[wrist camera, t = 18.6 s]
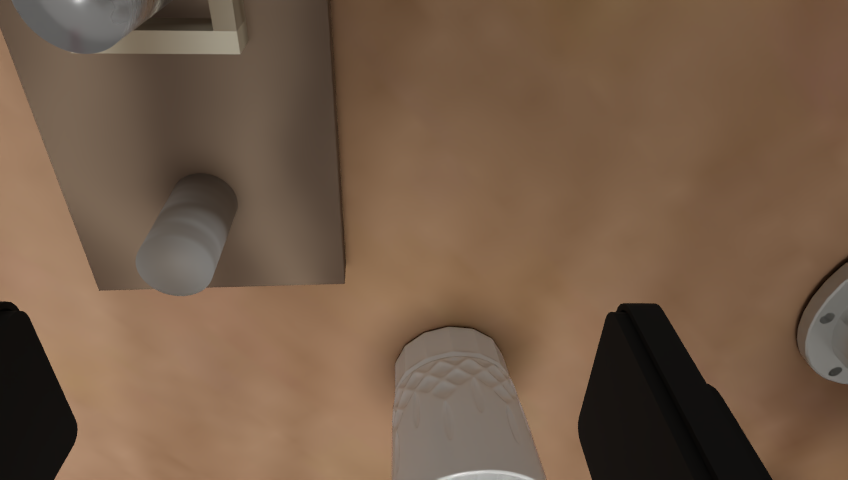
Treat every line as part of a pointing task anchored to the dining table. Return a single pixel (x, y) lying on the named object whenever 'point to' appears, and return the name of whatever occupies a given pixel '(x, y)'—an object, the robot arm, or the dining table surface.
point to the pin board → (196, 144)
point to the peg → (86, 21)
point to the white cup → (459, 412)
